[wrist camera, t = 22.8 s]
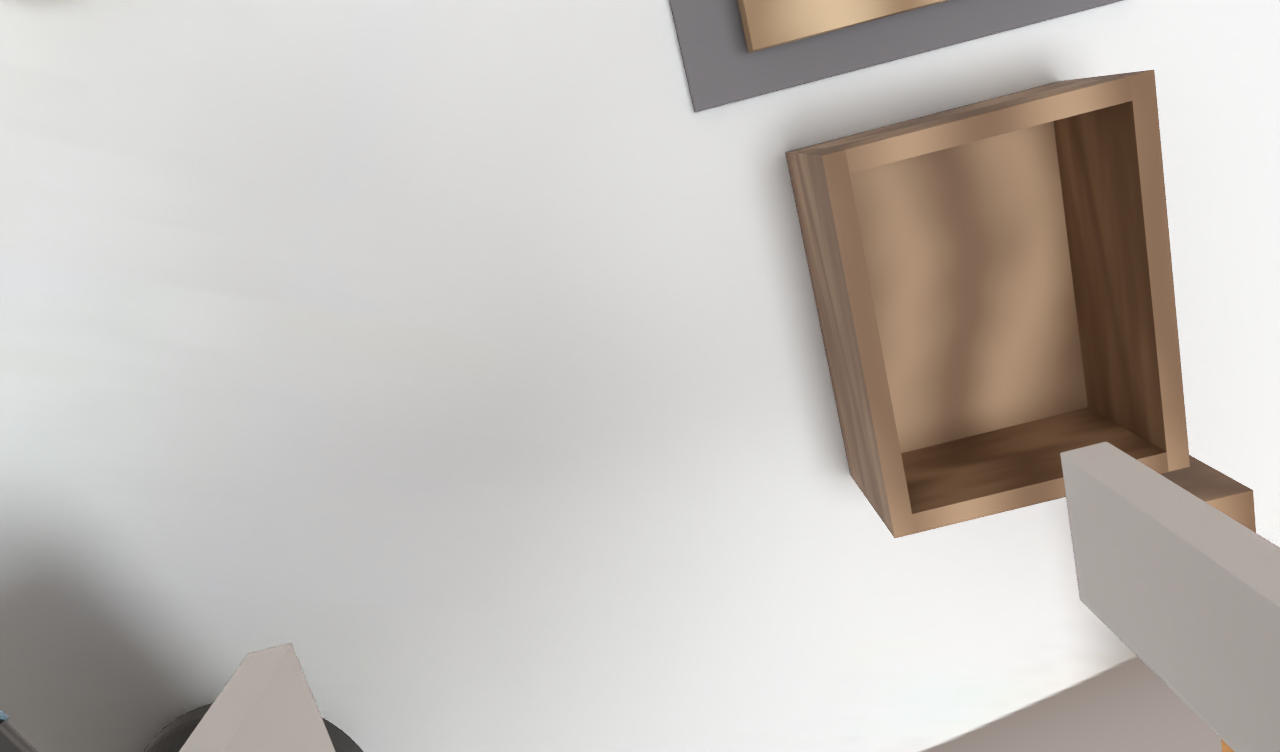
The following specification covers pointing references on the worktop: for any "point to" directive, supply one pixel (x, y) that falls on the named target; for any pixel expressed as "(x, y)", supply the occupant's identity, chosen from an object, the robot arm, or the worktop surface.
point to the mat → (834, 43)
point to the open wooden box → (1000, 300)
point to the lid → (812, 17)
